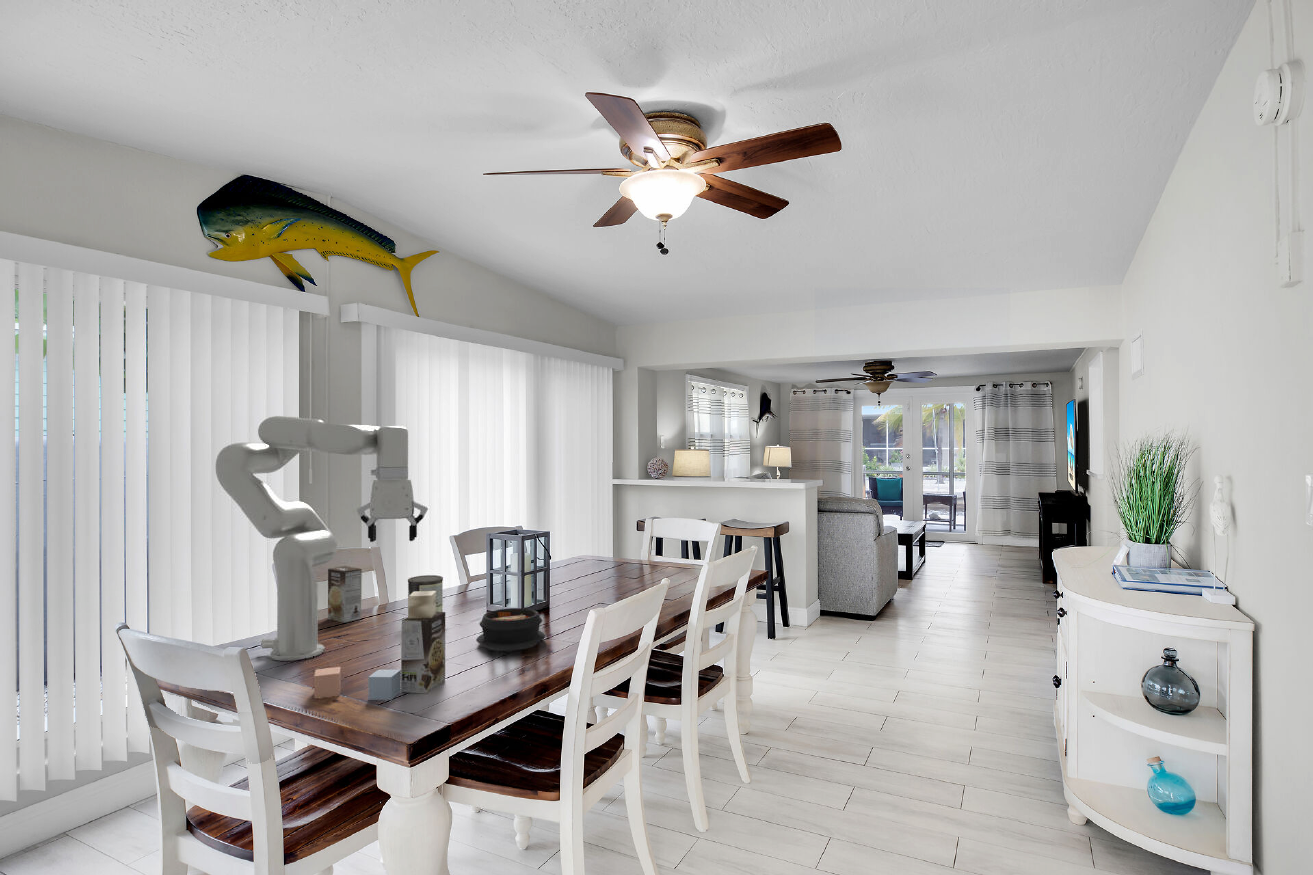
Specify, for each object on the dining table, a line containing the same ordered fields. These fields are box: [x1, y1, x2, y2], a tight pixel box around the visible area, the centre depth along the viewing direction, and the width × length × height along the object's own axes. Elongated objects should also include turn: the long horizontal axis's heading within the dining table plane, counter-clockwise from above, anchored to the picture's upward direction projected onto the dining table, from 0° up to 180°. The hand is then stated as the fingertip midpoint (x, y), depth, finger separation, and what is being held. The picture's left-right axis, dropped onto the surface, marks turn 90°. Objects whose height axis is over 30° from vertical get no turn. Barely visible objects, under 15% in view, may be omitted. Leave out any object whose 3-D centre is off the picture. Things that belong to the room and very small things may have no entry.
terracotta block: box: [313, 666, 341, 699], centre depth 155 cm, size 5×5×5 cm
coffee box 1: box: [327, 565, 363, 623], centre depth 223 cm, size 9×6×16 cm
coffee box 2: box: [400, 611, 446, 695], centre depth 160 cm, size 9×6×16 cm
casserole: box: [475, 607, 546, 652], centre depth 193 cm, size 25×19×8 cm
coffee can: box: [407, 574, 444, 618], centre depth 216 cm, size 10×10×14 cm
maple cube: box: [409, 591, 436, 619], centre depth 160 cm, size 5×5×5 cm
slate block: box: [368, 669, 402, 701], centre depth 154 cm, size 5×5×5 cm
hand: (392, 540), depth 180 cm, fingers open, 9 cm apart
